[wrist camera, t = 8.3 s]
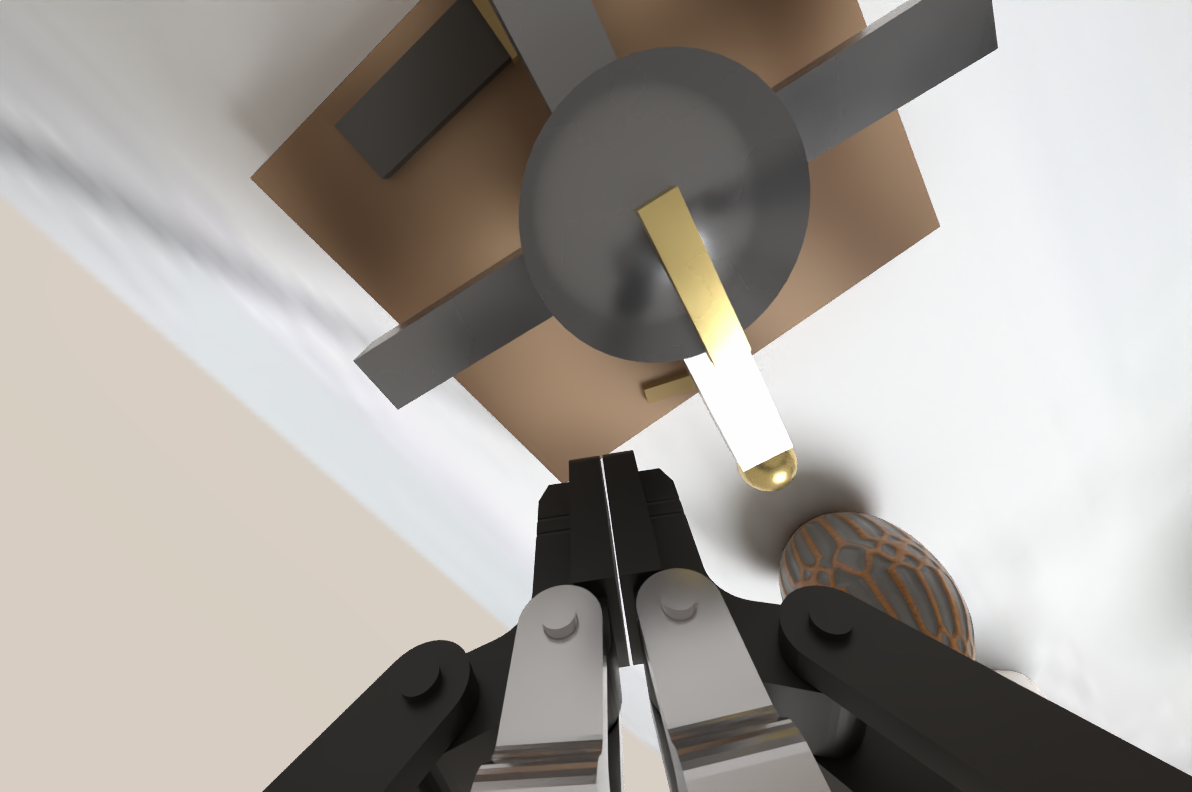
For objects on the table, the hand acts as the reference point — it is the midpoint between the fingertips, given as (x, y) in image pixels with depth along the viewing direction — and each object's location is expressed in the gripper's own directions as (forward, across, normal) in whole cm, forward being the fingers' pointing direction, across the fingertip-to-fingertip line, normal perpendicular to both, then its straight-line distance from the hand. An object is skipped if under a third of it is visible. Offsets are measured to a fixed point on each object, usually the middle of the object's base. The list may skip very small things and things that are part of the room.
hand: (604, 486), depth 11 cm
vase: (+9, -11, +12) cm, 19 cm away
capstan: (+6, -2, -6) cm, 9 cm away
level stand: (+8, -2, -6) cm, 10 cm away
